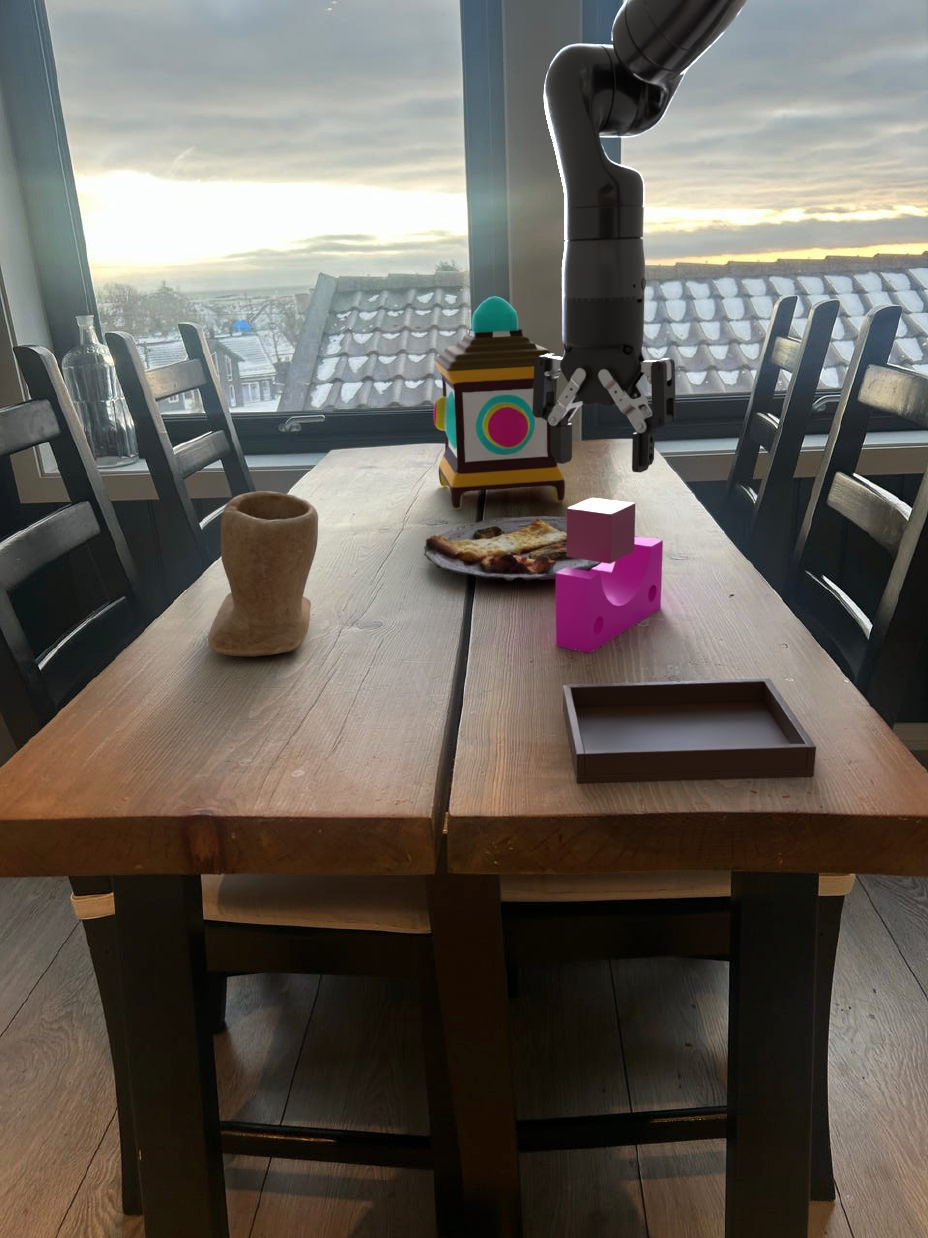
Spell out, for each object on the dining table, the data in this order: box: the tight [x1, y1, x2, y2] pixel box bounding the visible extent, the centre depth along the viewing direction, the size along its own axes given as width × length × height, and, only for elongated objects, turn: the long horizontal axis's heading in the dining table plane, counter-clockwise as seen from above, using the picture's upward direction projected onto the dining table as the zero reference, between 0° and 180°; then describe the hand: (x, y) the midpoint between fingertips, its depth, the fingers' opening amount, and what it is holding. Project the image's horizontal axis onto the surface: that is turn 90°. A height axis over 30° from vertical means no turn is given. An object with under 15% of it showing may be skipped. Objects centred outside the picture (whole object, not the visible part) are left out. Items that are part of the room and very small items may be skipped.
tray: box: [562, 678, 817, 784], centre depth 78 cm, size 17×12×2 cm
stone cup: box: [207, 490, 319, 657], centre depth 101 cm, size 15×12×15 cm
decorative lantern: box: [433, 295, 566, 511], centre depth 154 cm, size 20×20×30 cm
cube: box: [566, 497, 636, 564], centre depth 100 cm, size 5×5×5 cm
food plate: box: [423, 516, 602, 583], centre depth 124 cm, size 25×23×4 cm
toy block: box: [555, 535, 664, 654], centre depth 102 cm, size 15×6×8 cm, turn 143°
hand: (601, 466), depth 98 cm, fingers open, 8 cm apart
